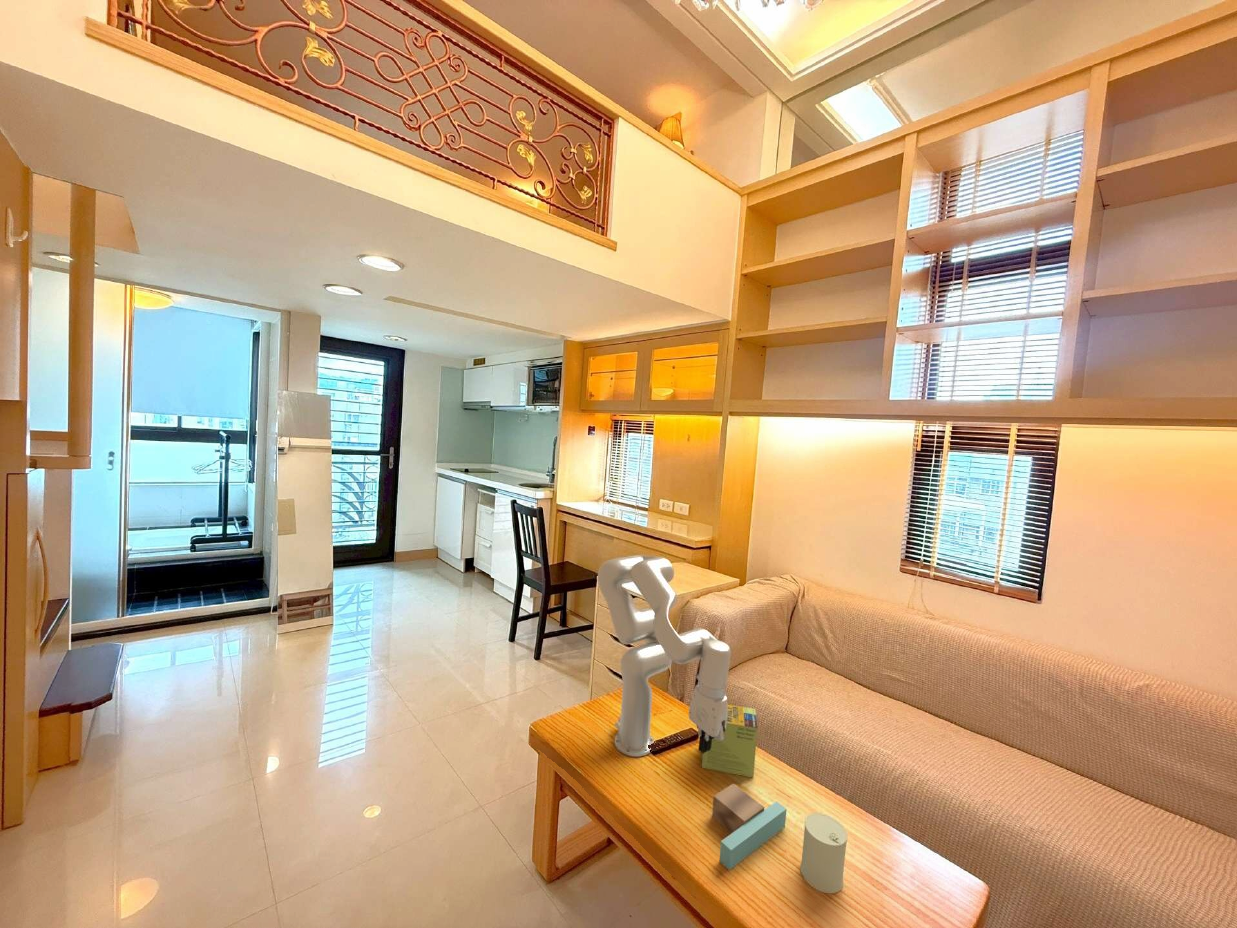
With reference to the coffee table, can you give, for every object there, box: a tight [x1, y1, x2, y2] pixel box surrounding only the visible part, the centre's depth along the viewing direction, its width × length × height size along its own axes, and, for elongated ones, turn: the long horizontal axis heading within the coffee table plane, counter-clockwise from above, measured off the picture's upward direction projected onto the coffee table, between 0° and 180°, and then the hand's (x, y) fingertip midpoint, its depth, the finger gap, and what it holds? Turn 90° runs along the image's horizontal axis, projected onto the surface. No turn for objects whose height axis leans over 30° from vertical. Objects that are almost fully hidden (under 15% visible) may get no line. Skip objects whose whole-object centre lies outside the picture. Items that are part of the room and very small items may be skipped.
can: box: [799, 812, 848, 894], centre depth 114 cm, size 9×9×12 cm
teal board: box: [719, 801, 787, 871], centre depth 122 cm, size 3×22×5 cm, turn 128°
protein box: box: [701, 703, 759, 778], centre depth 151 cm, size 10×15×16 cm
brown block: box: [711, 783, 765, 834], centre depth 128 cm, size 10×8×6 cm
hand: (704, 749), depth 135 cm, fingers closed
